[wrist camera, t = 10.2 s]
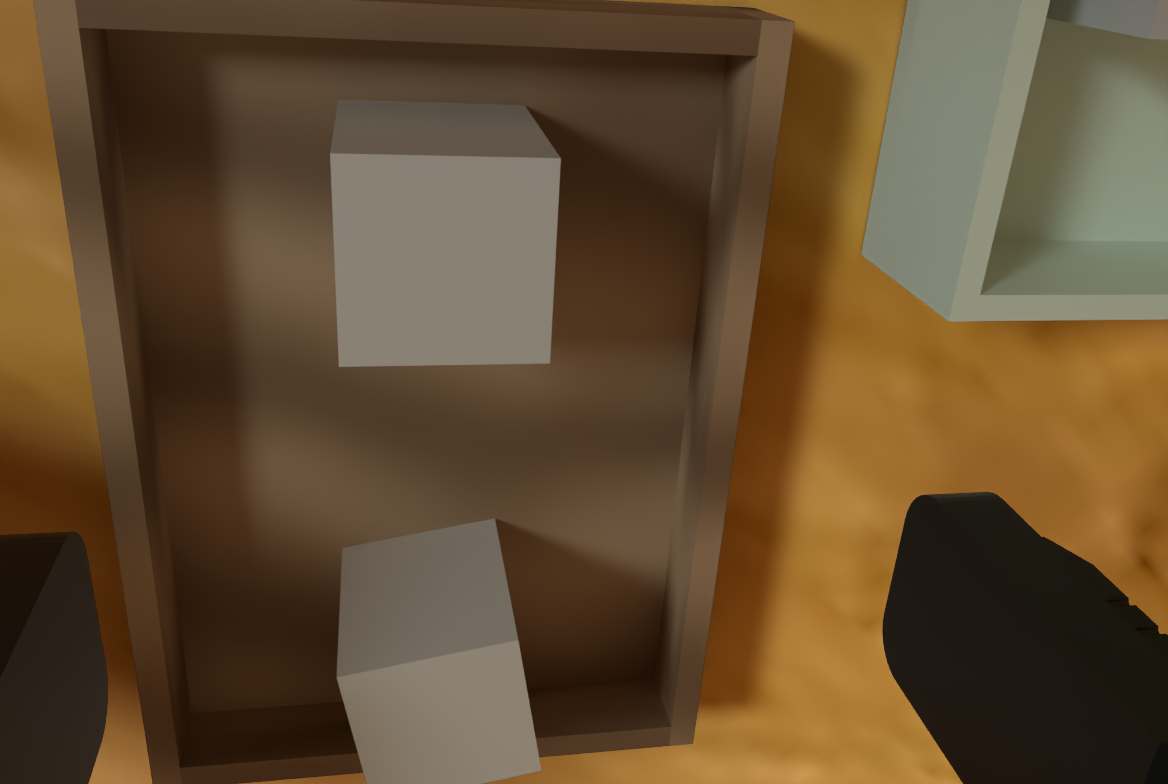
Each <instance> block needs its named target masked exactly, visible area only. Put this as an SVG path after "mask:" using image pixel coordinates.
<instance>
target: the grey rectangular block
mask: <svg viewBox="0 0 1168 784" xmlns="http://www.w3.org/2000/svg"><path fill="white" fill-rule="evenodd" d="M330 163H331V187H332V212H333V236H334V261H335V285H336V309H337V334H338V358H339V367H362V366H424V365H486V364H548V363H550V353H551V334H552V315H553V297H554V278H555V259H556V240H557V222H558V203H559V184H560V165H561V158H560V156H559V155H558V153H557V152H556V150H555V149H554V147H553V146H552V145H551V143H550V142H549V140H548V139H547V137H546V136H545V134H544V133H543V131H542V130H541V128H540V127H539V125H538V124H537V123H536V121H535V120H534V118H533V117H532V115H531V114H530V112H529V111H528V109H527V108H526V106H525V105H500V104H468V103H435V102H403V101H370V100H338V106H337V112H336V119H335V125H334V131H333V138H332V144H331V151H330Z"/></svg>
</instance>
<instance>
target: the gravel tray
mask: <svg viewBox="0 0 1168 784" xmlns="http://www.w3.org/2000/svg"><path fill="white" fill-rule="evenodd" d="M33 3H34V9H35V16H36V22H37V29H38V36H39V42H40V49H41V55H42V62H43V68H44V75H45V81H46V88H47V95H48V101H49V108H50V114H51V121H52V127H53V134H54V140H55V147H56V153H57V160H58V167H59V173H60V180H61V186H62V193H63V199H64V206H65V212H66V219H67V226H68V232H69V239H70V245H71V252H72V258H73V265H74V271H75V278H76V285H77V291H78V298H79V304H80V311H81V317H82V324H83V330H84V337H85V344H86V350H87V357H88V363H89V370H90V376H91V383H92V389H93V396H94V403H95V409H96V416H97V422H98V429H99V435H100V442H101V448H102V455H103V462H104V468H105V475H106V481H107V488H108V494H109V501H110V507H111V514H112V521H113V527H114V534H115V540H116V547H117V553H118V560H119V566H120V573H121V579H122V586H123V593H124V599H125V606H126V612H127V619H128V625H129V632H130V638H131V645H132V652H133V658H134V665H135V671H136V678H137V684H138V691H139V697H140V704H141V711H142V717H143V724H144V730H145V737H146V743H147V750H148V756H149V763H150V770H151V776H152V783H153V784H239V783H250V782H262V781H273V780H284V779H296V778H307V777H319V776H330V775H342V774H353V773H363V769H362V766H361V762H360V759H359V755H358V751H357V748H356V744H355V741H354V737H353V734H352V730H351V727H350V723H349V720H348V716H347V713H346V709H345V706H344V702H343V699H342V695H341V692H340V688H339V684H338V681H337V657H338V635H339V612H340V590H341V568H342V548H344V547H350V546H355V545H360V544H365V543H370V542H375V541H381V540H386V539H391V538H396V537H401V536H406V535H412V534H417V533H422V532H427V531H432V530H438V529H443V528H448V527H453V526H458V525H463V524H469V523H474V522H479V521H484V520H489V519H494V518H495V522H496V527H497V532H498V537H499V542H500V548H501V553H502V558H503V563H504V568H505V573H506V579H507V584H508V589H509V594H510V599H511V605H512V610H513V615H514V620H515V625H516V631H517V636H518V641H519V647H520V652H521V658H522V664H523V669H524V675H525V681H526V686H527V692H528V698H529V703H530V709H531V715H532V720H533V726H534V732H535V737H536V743H537V749H538V754H539V757H547V756H559V755H570V754H581V753H593V752H604V751H616V750H627V749H639V748H650V747H661V746H673V745H684V744H693V740H694V733H695V725H696V718H697V711H698V704H699V697H700V690H701V683H702V676H703V669H704V662H705V654H706V647H707V640H708V633H709V626H710V619H711V612H712V605H713V598H714V591H715V584H716V576H717V569H718V562H719V555H720V548H721V541H722V534H723V527H724V520H725V513H726V506H727V498H728V491H729V484H730V477H731V470H732V463H733V456H734V449H735V442H736V435H737V428H738V420H739V413H740V406H741V399H742V392H743V385H744V378H745V371H746V364H747V357H748V349H749V342H750V335H751V328H752V321H753V314H754V307H755V300H756V293H757V286H758V279H759V271H760V264H761V257H762V250H763V243H764V236H765V229H766V222H767V215H768V208H769V201H770V193H771V186H772V179H773V172H774V165H775V158H776V151H777V144H778V137H779V130H780V123H781V115H782V108H783V101H784V94H785V87H786V80H787V73H788V66H789V59H790V52H791V45H792V37H793V30H794V23H795V22H794V21H791V20H788V19H785V18H782V17H779V16H776V15H773V14H770V13H767V12H764V11H761V10H758V9H755V8H744V7H725V6H705V5H685V4H665V3H645V2H626V1H606V0H33ZM338 100H370V101H403V102H435V103H468V104H500V105H525V106H526V108H527V109H528V111H529V112H530V114H531V115H532V117H533V118H534V120H535V121H536V123H537V124H538V125H539V127H540V128H541V130H542V131H543V133H544V134H545V136H546V137H547V139H548V140H549V142H550V143H551V145H552V146H553V147H554V149H555V150H556V152H557V153H558V155H559V156H560V158H561V165H560V184H559V203H558V222H557V240H556V259H555V278H554V297H553V315H552V334H551V353H550V363H548V364H486V365H424V366H362V367H339V358H338V334H337V309H336V285H335V261H334V236H333V212H332V187H331V163H330V151H331V144H332V138H333V131H334V125H335V119H336V112H337V106H338Z"/></svg>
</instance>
